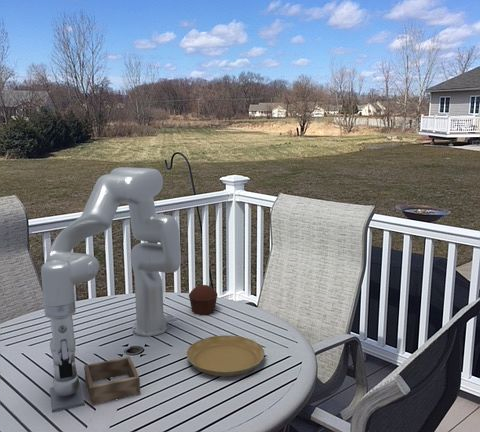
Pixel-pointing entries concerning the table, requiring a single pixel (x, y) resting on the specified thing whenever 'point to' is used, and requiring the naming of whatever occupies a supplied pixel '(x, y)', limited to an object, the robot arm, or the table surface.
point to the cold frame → (114, 388)
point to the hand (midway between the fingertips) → (65, 370)
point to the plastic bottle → (65, 384)
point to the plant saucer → (225, 355)
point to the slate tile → (66, 400)
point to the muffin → (203, 300)
